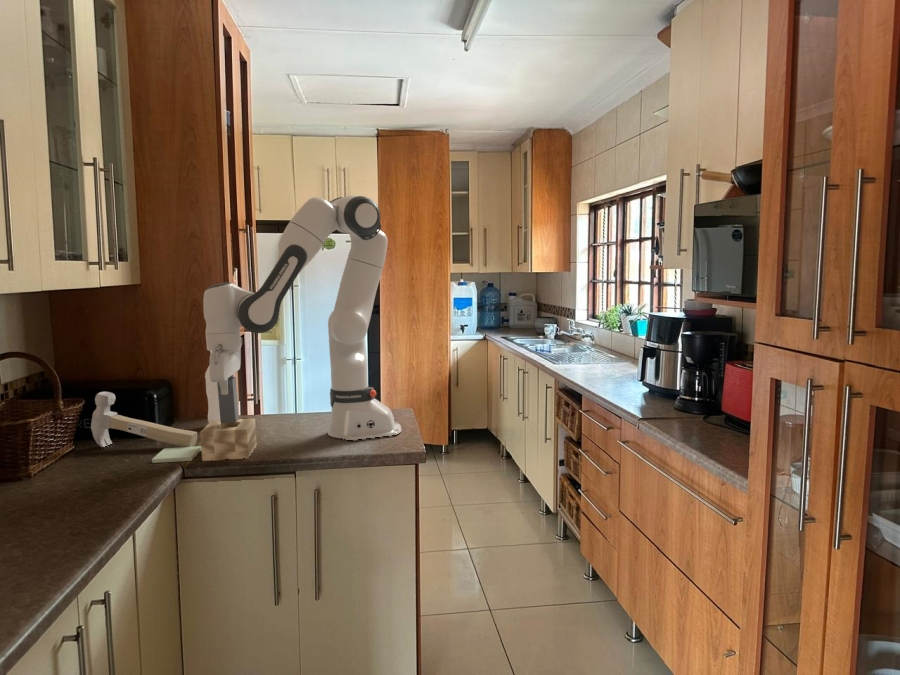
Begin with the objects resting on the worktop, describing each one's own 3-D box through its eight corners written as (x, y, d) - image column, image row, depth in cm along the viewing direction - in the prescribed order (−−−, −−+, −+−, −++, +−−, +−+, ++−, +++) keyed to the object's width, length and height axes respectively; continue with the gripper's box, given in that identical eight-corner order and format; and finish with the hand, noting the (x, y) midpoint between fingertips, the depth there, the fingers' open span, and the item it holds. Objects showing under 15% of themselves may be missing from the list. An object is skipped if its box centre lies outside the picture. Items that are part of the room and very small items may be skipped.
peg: (238, 418, 167) (235, 376, 165) (235, 422, 163) (232, 379, 162) (224, 419, 166) (220, 377, 165) (220, 423, 162) (217, 380, 161)
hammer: (201, 413, 172) (104, 390, 174) (193, 417, 168) (93, 393, 169) (193, 464, 174) (97, 441, 176) (185, 469, 170) (86, 445, 171)
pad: (201, 449, 169) (201, 446, 169) (191, 460, 159) (191, 456, 159) (164, 451, 168) (164, 448, 168) (152, 462, 158) (151, 459, 158)
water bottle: (203, 426, 194) (198, 351, 191) (223, 422, 200) (219, 348, 197) (216, 430, 190) (211, 352, 187) (236, 425, 195) (231, 350, 192)
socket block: (256, 445, 172) (255, 418, 171) (248, 458, 160) (246, 429, 160) (213, 447, 171) (211, 420, 170) (202, 461, 159) (200, 431, 158)
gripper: (226, 346, 152) (231, 399, 154) (243, 337, 172) (246, 384, 174) (201, 348, 151) (205, 401, 153) (220, 338, 172) (224, 385, 173)
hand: (227, 392), depth 164 cm, fingers closed on peg, 4 cm apart
